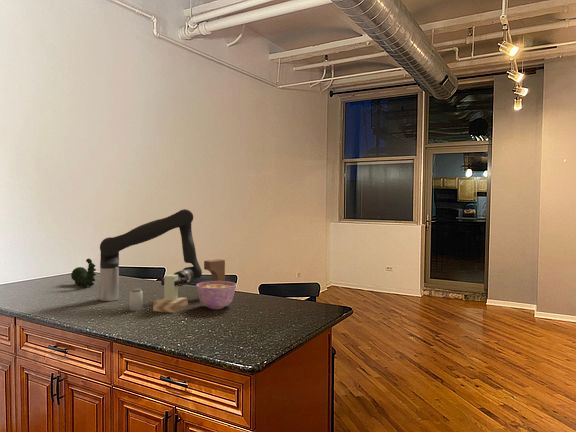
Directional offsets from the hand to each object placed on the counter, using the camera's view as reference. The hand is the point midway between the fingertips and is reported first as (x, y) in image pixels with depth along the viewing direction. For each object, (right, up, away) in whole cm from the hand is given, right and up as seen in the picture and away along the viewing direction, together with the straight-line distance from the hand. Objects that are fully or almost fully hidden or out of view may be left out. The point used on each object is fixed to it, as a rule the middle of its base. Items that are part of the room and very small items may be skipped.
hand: (168, 283), depth 209 cm
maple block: (0, -13, +3) cm, 14 cm away
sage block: (0, -8, +3) cm, 9 cm away
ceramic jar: (-16, -13, +1) cm, 21 cm away
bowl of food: (+22, -13, +7) cm, 27 cm away
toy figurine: (-70, -11, +59) cm, 92 cm away
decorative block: (+16, -12, +35) cm, 41 cm away
